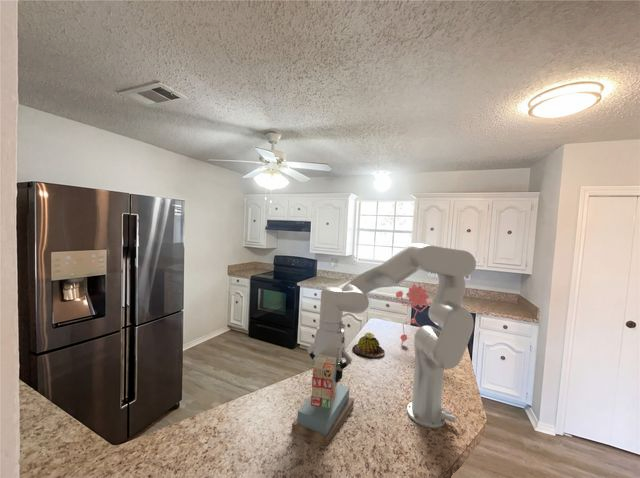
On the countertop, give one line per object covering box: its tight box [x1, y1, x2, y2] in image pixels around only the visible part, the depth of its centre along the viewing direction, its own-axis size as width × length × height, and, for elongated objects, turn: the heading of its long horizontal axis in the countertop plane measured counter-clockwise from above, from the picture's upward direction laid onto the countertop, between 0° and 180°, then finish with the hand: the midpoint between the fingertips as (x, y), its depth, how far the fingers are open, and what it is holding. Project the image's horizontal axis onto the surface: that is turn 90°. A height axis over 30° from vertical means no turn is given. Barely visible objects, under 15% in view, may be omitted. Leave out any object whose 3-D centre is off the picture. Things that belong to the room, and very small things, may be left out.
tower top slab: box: [296, 383, 350, 436], centre depth 90 cm, size 10×20×4 cm, turn 154°
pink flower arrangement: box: [395, 284, 432, 346], centre depth 152 cm, size 15×26×35 cm, turn 44°
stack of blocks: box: [310, 353, 338, 409], centre depth 89 cm, size 21×6×12 cm, turn 168°
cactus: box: [352, 332, 386, 359], centre depth 143 cm, size 17×16×10 cm
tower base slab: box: [291, 396, 355, 448], centre depth 90 cm, size 12×22×4 cm, turn 151°
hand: (327, 376), depth 89 cm, fingers closed on stack of blocks, 7 cm apart
